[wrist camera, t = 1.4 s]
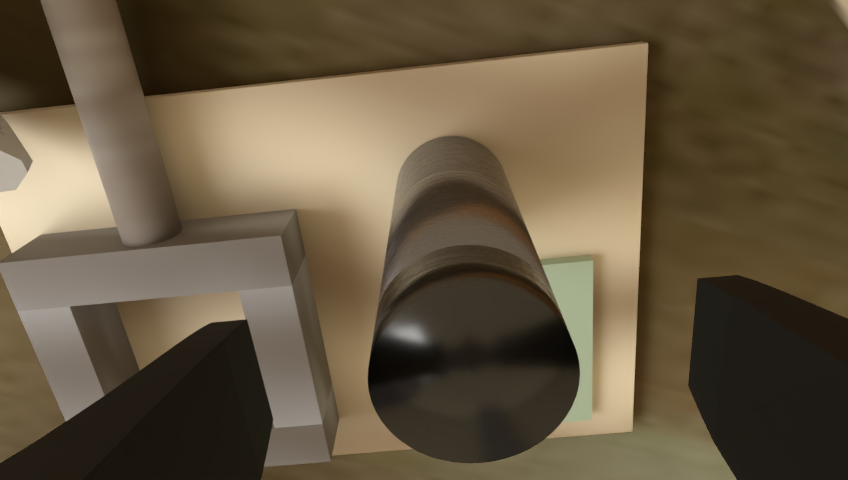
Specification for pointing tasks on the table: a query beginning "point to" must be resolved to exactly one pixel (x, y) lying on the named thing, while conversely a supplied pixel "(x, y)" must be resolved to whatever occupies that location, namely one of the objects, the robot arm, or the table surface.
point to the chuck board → (301, 216)
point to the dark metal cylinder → (466, 315)
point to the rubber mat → (576, 320)
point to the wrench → (12, 158)
